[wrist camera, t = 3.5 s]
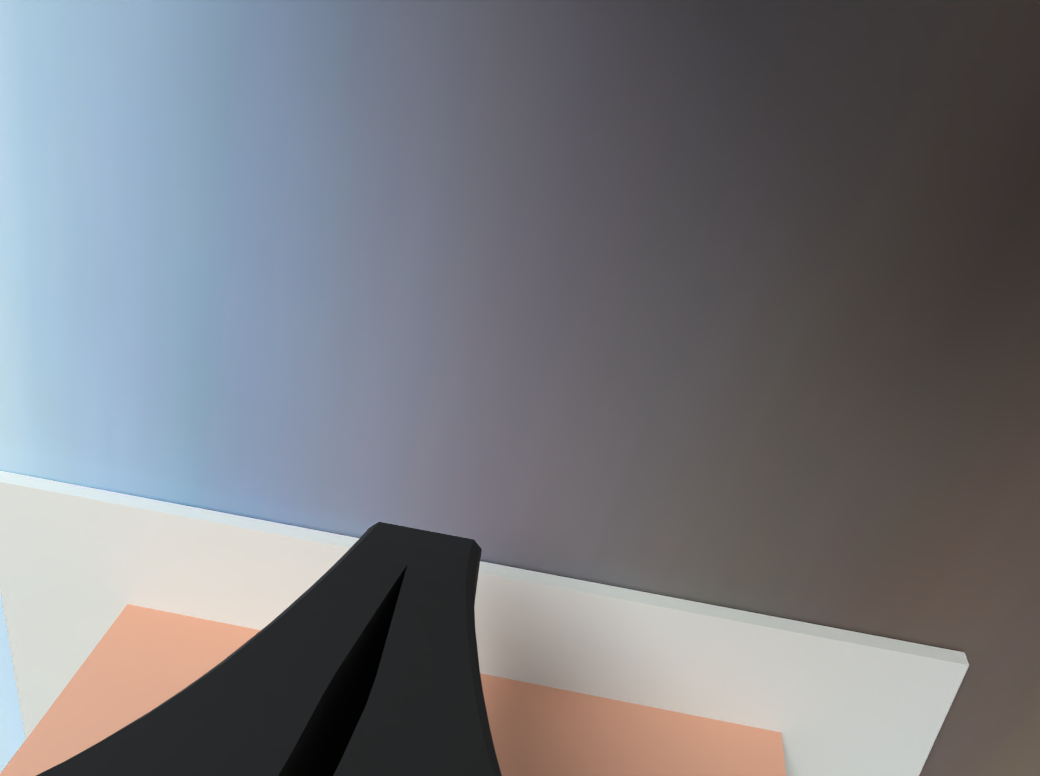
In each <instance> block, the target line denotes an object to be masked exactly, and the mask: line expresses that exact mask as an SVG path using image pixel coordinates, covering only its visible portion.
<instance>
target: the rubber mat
mask: <svg viewBox="0 0 1040 776" xmlns="http://www.w3.org/2000/svg"><path fill="white" fill-rule="evenodd" d="M359 539H360V538H355V537H349V536H344V535H339V534H333V533H328V532H323V531H317V530H312V529H307V528H302V527H296V526H291V525H286V524H280V523H275V522H270V521H264V520H259V519H254V518H249V517H243V516H238V515H233V514H227V513H222V512H217V511H211V510H206V509H201V508H195V507H190V506H185V505H180V504H174V503H169V502H164V501H158V500H153V499H148V498H142V497H137V496H132V495H127V494H121V493H116V492H111V491H105V490H100V489H95V488H89V487H84V486H79V485H73V484H68V483H63V482H58V481H52V480H47V479H42V478H36V477H31V476H26V475H20V474H15V473H10V472H5V471H0V590H1V596H2V602H3V608H4V614H5V620H6V626H7V632H8V638H9V644H10V650H11V656H12V662H13V668H14V673H15V679H16V685H17V691H18V697H19V703H20V709H21V715H22V721H23V727H24V733H25V739H27V738H28V736H29V735H30V734H31V732H32V731H33V730H34V728H35V727H36V726H37V724H38V723H39V722H40V720H41V719H42V718H43V716H44V715H45V714H46V712H47V711H48V709H49V708H50V707H51V705H52V704H53V703H54V701H55V700H56V699H57V697H58V696H59V695H60V693H61V692H62V691H63V689H64V688H65V687H66V685H67V684H68V683H69V681H70V680H71V679H72V677H73V676H74V675H75V673H76V672H77V671H78V669H79V668H80V667H81V665H82V664H83V663H84V661H85V660H86V659H87V657H88V656H89V655H90V653H91V652H92V651H93V649H94V648H95V647H96V645H97V644H98V643H99V641H100V640H101V639H102V637H103V636H104V635H105V633H106V632H107V631H108V629H109V628H110V627H111V625H112V624H113V623H114V621H115V620H116V619H117V617H118V616H119V615H120V613H121V612H122V611H123V609H124V608H125V607H126V605H127V604H130V605H135V606H140V607H145V608H150V609H155V610H160V611H166V612H171V613H176V614H181V615H186V616H191V617H196V618H201V619H206V620H211V621H216V622H222V623H227V624H232V625H237V626H242V627H247V628H252V629H257V630H262V629H263V628H265V627H266V626H267V625H268V624H269V623H271V622H272V621H273V620H274V619H275V618H276V617H278V616H279V615H280V614H281V613H282V612H283V611H284V610H285V609H287V608H288V607H289V606H290V605H291V604H292V603H293V602H294V601H295V600H297V599H298V598H299V597H300V596H301V595H302V594H303V593H304V592H305V591H307V590H308V589H309V588H310V587H311V586H312V585H313V584H314V583H315V582H316V581H317V580H319V579H320V578H321V577H322V576H323V575H324V574H325V573H326V572H327V571H328V570H329V569H330V568H331V567H332V566H333V565H334V564H335V563H336V562H337V561H338V560H339V559H340V558H341V557H342V556H343V555H344V554H345V553H346V552H347V551H348V550H349V549H350V548H351V547H352V546H353V545H354V544H355V543H356V542H357V541H358V540H359ZM474 611H475V631H476V641H477V650H478V660H479V669H480V673H481V674H486V675H491V676H496V677H501V678H507V679H512V680H517V681H522V682H527V683H532V684H537V685H542V686H547V687H552V688H557V689H563V690H568V691H573V692H578V693H583V694H588V695H593V696H598V697H603V698H608V699H613V700H619V701H624V702H629V703H634V704H639V705H644V706H649V707H654V708H659V709H664V710H669V711H675V712H680V713H685V714H690V715H695V716H700V717H705V718H710V719H715V720H720V721H725V722H731V723H736V724H741V725H746V726H751V727H756V728H761V729H766V730H771V731H776V732H781V733H782V741H783V750H784V759H785V768H786V776H919V774H920V772H921V770H922V768H923V766H924V763H925V761H926V759H927V757H928V755H929V752H930V750H931V748H932V746H933V744H934V741H935V739H936V737H937V735H938V733H939V730H940V728H941V726H942V724H943V722H944V719H945V717H946V715H947V713H948V711H949V708H950V706H951V704H952V702H953V700H954V697H955V695H956V693H957V691H958V689H959V686H960V684H961V682H962V680H963V678H964V675H965V673H966V671H967V669H968V667H969V664H968V661H967V658H966V655H965V652H959V651H954V650H949V649H943V648H938V647H933V646H927V645H922V644H917V643H912V642H906V641H901V640H896V639H890V638H885V637H880V636H874V635H869V634H864V633H858V632H853V631H848V630H843V629H837V628H832V627H827V626H821V625H816V624H811V623H805V622H800V621H795V620H790V619H784V618H779V617H774V616H768V615H763V614H758V613H752V612H747V611H742V610H736V609H731V608H726V607H721V606H715V605H710V604H705V603H699V602H694V601H689V600H683V599H678V598H673V597H668V596H662V595H657V594H652V593H646V592H641V591H636V590H630V589H625V588H620V587H615V586H609V585H604V584H599V583H593V582H588V581H583V580H577V579H572V578H567V577H561V576H556V575H551V574H546V573H540V572H535V571H530V570H524V569H519V568H514V567H508V566H503V565H498V564H493V563H487V562H482V561H480V565H479V573H478V581H477V588H476V596H475V604H474Z"/></svg>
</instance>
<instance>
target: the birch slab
mask: <svg viewBox="0 0 1040 776" xmlns="http://www.w3.org/2000/svg"><path fill="white" fill-rule="evenodd" d="M260 631H261V630H257V629H252V628H247V627H242V626H237V625H232V624H227V623H222V622H216V621H211V620H206V619H201V618H196V617H191V616H186V615H181V614H176V613H171V612H166V611H160V610H155V609H150V608H145V607H140V606H135V605H130V604H127V605H126V607H125V608H124V609H123V611H122V612H121V613H120V615H119V616H118V617H117V619H116V620H115V621H114V623H113V624H112V625H111V627H110V628H109V629H108V631H107V632H106V633H105V635H104V636H103V637H102V639H101V640H100V641H99V643H98V644H97V645H96V647H95V648H94V649H93V651H92V652H91V653H90V655H89V656H88V657H87V659H86V660H85V661H84V663H83V664H82V665H81V667H80V668H79V669H78V671H77V672H76V673H75V675H74V676H73V677H72V679H71V680H70V681H69V683H68V684H67V685H66V687H65V688H64V689H63V691H62V692H61V693H60V695H59V696H58V697H57V699H56V700H55V701H54V703H53V704H52V705H51V707H50V708H49V709H48V711H47V712H46V714H45V715H44V716H43V718H42V719H41V720H40V722H39V723H38V724H37V726H36V727H35V728H34V730H33V731H32V732H31V734H30V735H29V736H28V738H27V739H26V740H25V742H24V743H23V744H22V746H21V747H20V748H19V750H18V751H17V752H16V754H15V755H14V756H13V758H12V759H11V760H10V762H9V763H8V764H7V766H6V767H5V768H4V770H3V771H2V772H1V774H0V776H36V775H38V774H40V773H42V772H44V771H46V770H48V769H50V768H52V767H54V766H56V765H58V764H60V763H62V762H64V761H66V760H68V759H70V758H71V757H73V756H75V755H77V754H79V753H81V752H82V751H84V750H86V749H88V748H89V747H91V746H93V745H95V744H97V743H98V742H100V741H102V740H103V739H105V738H107V737H108V736H110V735H112V734H113V733H115V732H117V731H118V730H120V729H122V728H123V727H125V726H127V725H128V724H130V723H132V722H133V721H135V720H137V719H138V718H140V717H142V716H143V715H145V714H147V713H148V712H150V711H151V710H153V709H155V708H156V707H158V706H159V705H161V704H162V703H164V702H165V701H167V700H168V699H170V698H171V697H173V696H174V695H176V694H177V693H179V692H180V691H182V690H183V689H184V688H186V687H187V686H189V685H190V684H192V683H193V682H194V681H196V680H197V679H199V678H200V677H201V676H203V675H204V674H206V673H207V672H208V671H210V670H211V669H212V668H214V667H215V666H217V665H218V664H219V663H221V662H222V661H223V660H224V659H226V658H227V657H228V656H229V655H231V654H232V653H233V652H234V651H236V650H237V649H238V648H239V647H241V646H242V645H243V644H244V643H246V642H247V641H248V640H249V639H251V638H252V637H253V636H255V635H256V634H257V633H258V632H260ZM480 676H481V682H482V689H483V694H484V700H485V705H486V710H487V716H488V721H489V726H490V730H491V735H492V739H493V744H494V748H495V752H496V756H497V760H498V764H499V767H500V771H501V775H502V776H786V768H785V759H784V750H783V741H782V733H781V732H776V731H771V730H766V729H761V728H756V727H751V726H746V725H741V724H736V723H731V722H725V721H720V720H715V719H710V718H705V717H700V716H695V715H690V714H685V713H680V712H675V711H669V710H664V709H659V708H654V707H649V706H644V705H639V704H634V703H629V702H624V701H619V700H613V699H608V698H603V697H598V696H593V695H588V694H583V693H578V692H573V691H568V690H563V689H557V688H552V687H547V686H542V685H537V684H532V683H527V682H522V681H517V680H512V679H507V678H501V677H496V676H491V675H486V674H481V673H480Z"/></svg>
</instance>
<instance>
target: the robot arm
mask: <svg viewBox="0 0 1040 776" xmlns="http://www.w3.org/2000/svg"><path fill="white" fill-rule="evenodd" d="M481 550H482V549H481V548H480V547H479V545H478V544H477V543H476V542H475V540H472V539H467V538H462V537H456V536H451V535H446V534H440V533H435V532H430V531H424V530H419V529H414V528H408V527H403V526H398V525H393V524H387V523H382V522H378V523H377V524H375V525H373V526H372V527H370V528H369V529H368V530H367V531H366V532H365V533H364V534H363V535H362V537H361V538H360V539H359V540H358V541H357V542H356V543H355V544H354V545H353V546H352V547H351V548H350V549H349V550H348V551H347V552H346V553H345V554H344V555H343V556H342V557H341V558H340V559H339V560H338V561H337V562H336V563H335V564H334V565H333V566H332V567H331V568H330V569H329V570H328V571H327V572H326V573H325V574H324V575H323V576H322V577H321V578H320V579H319V580H317V581H316V582H315V583H314V584H313V585H312V586H311V587H310V588H309V589H308V590H307V591H305V592H304V593H303V594H302V595H301V596H300V597H299V598H298V599H297V600H295V601H294V602H293V603H292V604H291V605H290V606H289V607H288V608H287V609H285V610H284V611H283V612H282V613H281V614H280V615H279V616H278V617H276V618H275V619H274V620H273V621H272V622H271V623H269V624H268V625H267V626H266V627H265V628H263V629H262V630H261V631H260V632H258V633H257V634H256V635H255V636H253V637H252V638H251V639H249V640H248V641H247V642H246V643H244V644H243V645H242V646H241V647H239V648H238V649H237V650H236V651H234V652H233V653H232V654H231V655H229V656H228V657H227V658H226V659H224V660H223V661H222V662H221V663H219V664H218V665H217V666H215V667H214V668H212V669H211V670H210V671H208V672H207V673H206V674H204V675H203V676H201V677H200V678H199V679H197V680H196V681H194V682H193V683H192V684H190V685H189V686H187V687H186V688H184V689H183V690H182V691H180V692H179V693H177V694H176V695H174V696H173V697H171V698H170V699H168V700H167V701H165V702H164V703H162V704H161V705H159V706H158V707H156V708H155V709H153V710H151V711H150V712H148V713H147V714H145V715H143V716H142V717H140V718H138V719H137V720H135V721H133V722H132V723H130V724H128V725H127V726H125V727H123V728H122V729H120V730H118V731H117V732H115V733H113V734H112V735H110V736H108V737H107V738H105V739H103V740H102V741H100V742H98V743H97V744H95V745H93V746H91V747H89V748H88V749H86V750H84V751H82V752H81V753H79V754H77V755H75V756H73V757H71V758H70V759H68V760H66V761H64V762H62V763H60V764H58V765H56V766H54V767H52V768H50V769H48V770H46V771H44V772H42V773H40V774H38V775H36V776H502V775H501V771H500V767H499V764H498V760H497V756H496V752H495V748H494V744H493V739H492V735H491V730H490V726H489V721H488V716H487V710H486V705H485V700H484V694H483V689H482V682H481V676H480V669H479V660H478V650H477V641H476V631H475V611H474V604H475V596H476V588H477V581H478V573H479V565H480V557H481Z"/></svg>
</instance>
